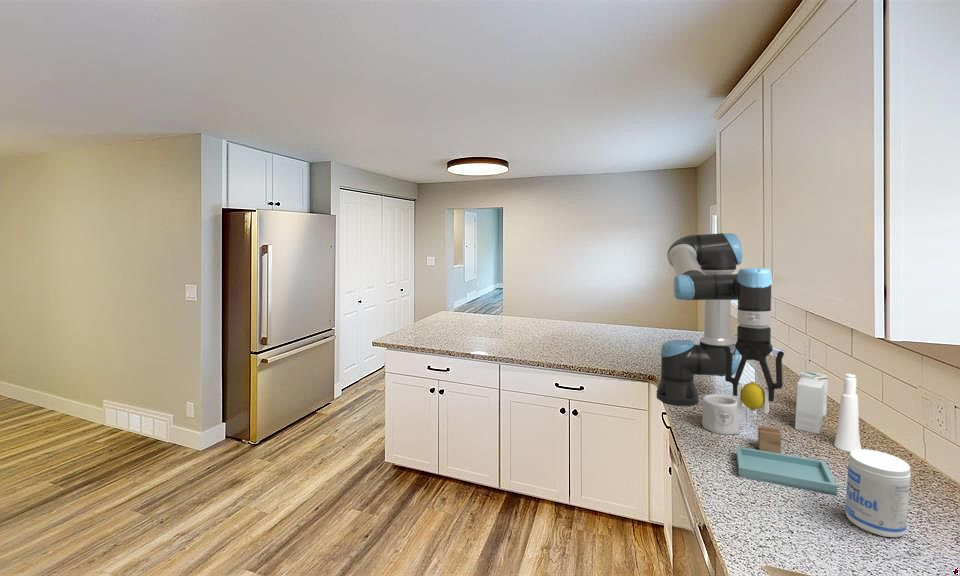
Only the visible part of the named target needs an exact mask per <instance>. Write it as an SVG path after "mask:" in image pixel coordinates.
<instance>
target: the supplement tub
mask: <svg viewBox="0 0 960 576" xmlns="http://www.w3.org/2000/svg"><path fill="white" fill-rule="evenodd" d="M848 457H849V458H848V464H847V480H846V496H845V497H846V498H845V515H846V517H847V518H848V520H850V522H851V523H852V524H854V525H856V526H857V527H859V528H860V529H862V530H864V531H867V532H869V533H871V534H875V535H878V536H880V537H881V536H882V537H887V538H900V537H902V536H904V535H905V534H906V532H907V526H908V525H907V524H908V523H907V522H908V512H909V502H910V501H909V500H910V490H911V474H912V473H911V466H910V465H909V463H908V462H906V461H904V459H901V458H899V457H897V456H894V455H892V454H889V453H886V452H882V451H878V450H873V449H865V448H864V449H862V448H861V449H858V450H853V451H851V452H849V456H848Z"/></svg>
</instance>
